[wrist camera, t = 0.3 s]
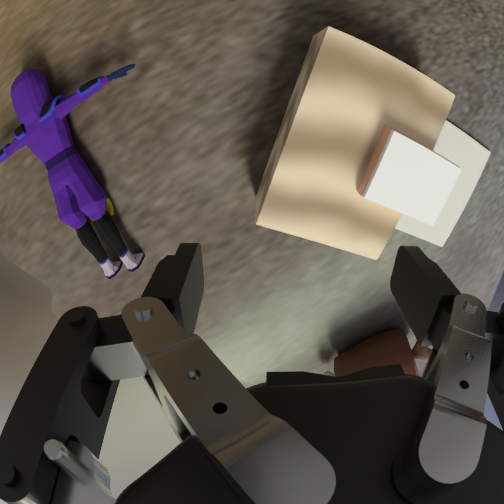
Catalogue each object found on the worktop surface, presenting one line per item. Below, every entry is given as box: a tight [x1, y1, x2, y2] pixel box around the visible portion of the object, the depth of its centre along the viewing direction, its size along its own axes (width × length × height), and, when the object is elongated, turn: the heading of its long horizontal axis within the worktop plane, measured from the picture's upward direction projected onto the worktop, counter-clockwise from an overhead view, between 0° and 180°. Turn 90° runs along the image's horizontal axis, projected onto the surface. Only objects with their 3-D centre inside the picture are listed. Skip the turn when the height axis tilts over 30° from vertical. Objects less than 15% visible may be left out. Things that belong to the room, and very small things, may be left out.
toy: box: [0, 64, 145, 279], centre depth 32 cm, size 27×6×30 cm
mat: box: [395, 120, 491, 247], centre depth 34 cm, size 16×12×1 cm
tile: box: [356, 125, 462, 227], centre depth 26 cm, size 7×9×2 cm
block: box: [256, 26, 455, 260], centre depth 29 cm, size 20×14×7 cm
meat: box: [324, 328, 432, 377], centre depth 47 cm, size 20×12×10 cm, turn 122°
